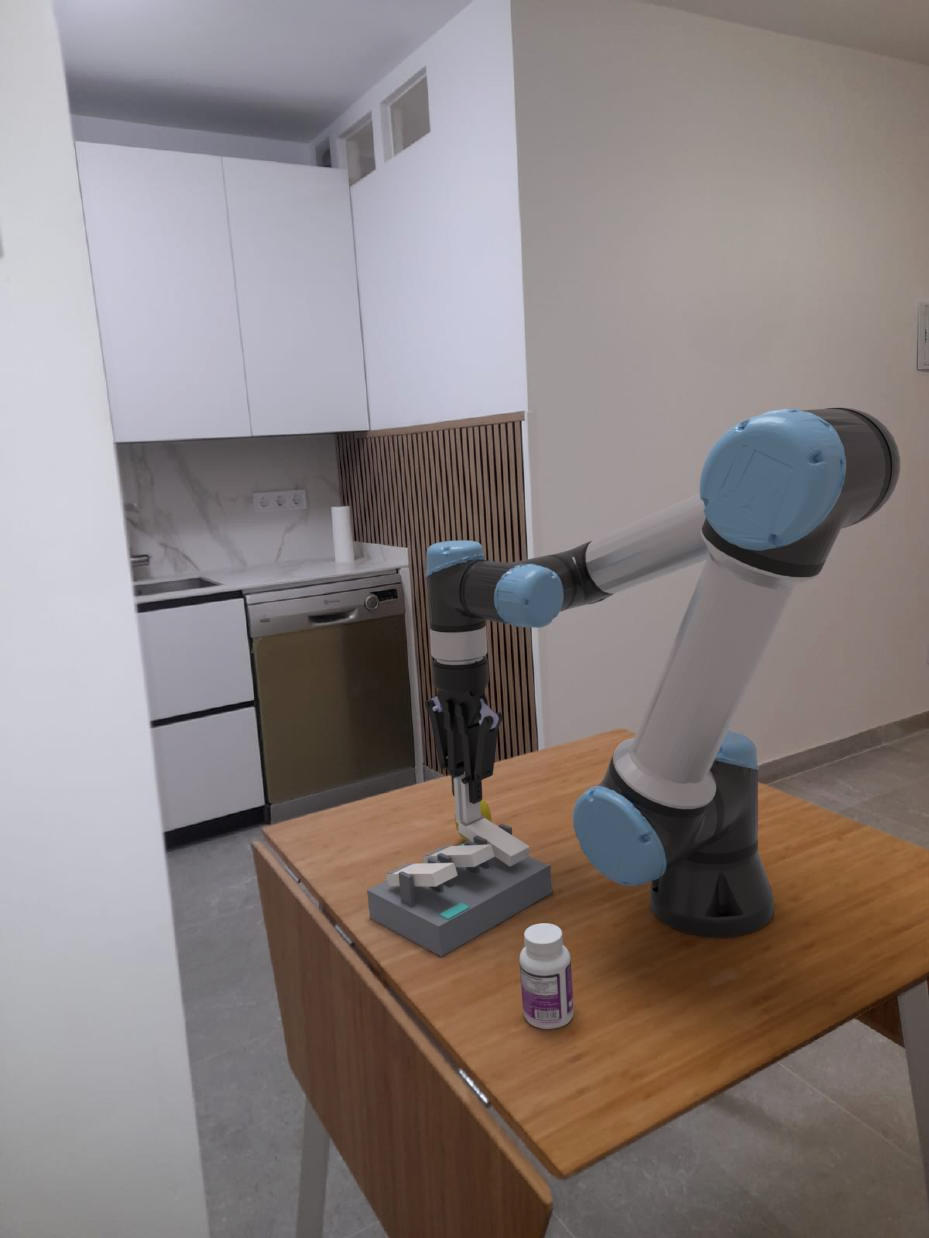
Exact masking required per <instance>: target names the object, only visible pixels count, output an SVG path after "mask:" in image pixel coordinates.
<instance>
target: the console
mask: <svg viewBox="0 0 929 1238" xmlns="http://www.w3.org/2000/svg"><path fill="white" fill-rule="evenodd" d="M497 826H498V827H500V828H501V829H503V830H504V831H506V832H508V833H509V834H511V835H512V836H513V827H512V826H509V825H507V824H503V823H500V824H498V825H497ZM473 839H474V842H472V841H471V840H465V841H463V843H462V844H459V845H458V846H468V845H487V839H484V838H481V837H479V836H475V837H473ZM437 857H438V860H436V859H433V858H429V859H427V860H428V863H452V862H451V857H450V856H447V855H445V854H443V853H439V854H437ZM424 863H425V861H423V862H422V863H420V864H424ZM455 868H456V871H457V875H458V876H456V877H454V878H452V879H450V880H448V881H446V882H444V883H442V884H440V885H438V886H436V887H433V886H413V876H412V875H409V874H407V873H405V872H403V871H402V872H399V884H400V886H389V885H388V881H387V880H385V881H383V882H381V883H379V884H377V885H375V886H372V887H371V888H369V889H367V890H366V893H367V900H368V901H367V903H368V912H369V919H370V920H373V921H374V922H376V923H377V924H380V925H382V926H383V927H385V928H388V930H391V931H393V932H394V933H396V934H398V935H400V936H402V937H404V938H406V939H408V940H409V941H411V942H413V943H415V944H416V945H418V946H421V947H422V948H424V949H426V950H427V951H428V952H429V951H430V952H431V953H434V954H435V955H437V956H439V957H441V958H442V957H444V956H447V955H448V954H449V953H450V952H453V951H454V950H456V949H458V948H459V947H461V946H463V945H464V944H466V943H468V942H470V941H471V940H474V939H475V938H477V937H478V936H481V934H483V933H486V932H487V931H490V929H492V928H493V927H496V926H498V925H499V924H501V923H502V922H504V921H506V920H508V919H509V918H511V917H513V916H514V915H516V914H518V913H520V912H522V911H523V910H525V909H526V908H528V907H530V906H532V905H533V904H535V903H536V902H538V901H540V900H542V899H544V898H546V897H548V896H549V895H550V894H552V893H553V890H552V888H553V887H552V871H551V870H552V868H551V865H550V864H549V863H546V862H543V861H541V860H538V859H536V858H533V857H531V856H529V857H527V858H526V859H524V860H522V861H520V862H518V863H516V864H514V865H512V866H508V865H507V864H505V863H504V862H502V861H501V860H499V859H498V858H496V857H493V858H491V859H489V860H487V861H485V862H483V863H481V864H479V865H477V866H475V867H455Z"/></svg>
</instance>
